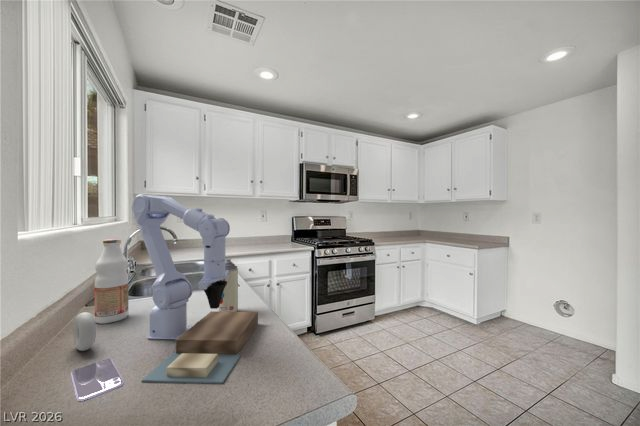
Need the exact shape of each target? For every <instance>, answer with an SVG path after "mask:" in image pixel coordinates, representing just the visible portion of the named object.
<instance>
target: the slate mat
mask: <svg viewBox="0 0 640 426" xmlns="http://www.w3.org/2000/svg"><path fill="white" fill-rule="evenodd" d="M180 355H181V354H176V351H174V352H172V353H171V354H170V355H168V356H167V358H165V359H164V360H163V361H162V362H161V363H160V364H159V365H157V366H156V367H155V368H154V369H153V370H151V371H150V373H148V374H147V375H146V376H145V377H144V378H142V379H141V383H171V384H172V383H173V384H175V383H176V384H219V385H221V384H222V385H223V384H224V383H225V381H226V380H227V378H228V376H229V375H230V373H231V372H232V371H233V368H234V367H235V366H236V364H237V362H238V361H239V360H240V357H241V356H242V352H239V353H237V355H229V354H218V363H217V364H216V365H215V366H214V368H213V369H212V370H211V372H210V373H209V374H208V376H207V377H171V376H167V367H168V366H169V365H170V364H171V363H172V362H173V361H174V360H175V359H176V358H177V357H179V356H180Z"/></svg>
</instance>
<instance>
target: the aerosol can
mask: <svg viewBox="0 0 640 426" xmlns="http://www.w3.org/2000/svg"><path fill="white" fill-rule="evenodd" d="M225 270H228V275H229V278H228V279H223V280H222V281H227V285H226V286H225V288H224V291H223V294H222V297H221V302H220V306H219V308H218V312H239V291H238V290H239V286H238V285H239V280H238V279H239V277H238V276H239V275H238V273H239V271H238V270H239V269H238V265H235V263H233V262H232V260H231V258H225Z"/></svg>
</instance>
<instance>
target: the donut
mask: <svg viewBox="0 0 640 426" xmlns="http://www.w3.org/2000/svg"><path fill="white" fill-rule="evenodd" d="M96 324H97V323H96V322H95V316H94V315H93V314H92V313H91V312H87V311H83V312H81V313H78V315H77V316H75V318H74V321H73V327H72V330H73V331H72V335H73V336H72V337H73V343H74V345H75V348H76V349H77V350H79V351H81V352H85V351H88V350H89V349H90V348H92V347H93V346H94V344H95V341H96V338H97V327H96V326H97V325H96Z"/></svg>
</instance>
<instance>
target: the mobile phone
mask: <svg viewBox="0 0 640 426" xmlns="http://www.w3.org/2000/svg"><path fill="white" fill-rule="evenodd" d="M70 377H71V382H72V386H73V389H74V393H75V398H76V402H79V401H81V402H84V400H85V401H88V400H91V399H93V398H95V397H97V396H100V395H102V394H105V393H108V392H110V391H113V390H115V389H117V388H120V387H122V386H123V385H124V384H125V380H124V379H123V377H122V376H121V374H120V372H119V370H118V369H117V367H116V365H115V363H114V362H113V360H112V359H110V358H106V359H103V360H100V361H99V360H98V361H96V362H94V363H90V364H88V365H85V366H82V367H77V368H75V369H73V370H72V371H71V372H70ZM87 399H88V400H87Z"/></svg>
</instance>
